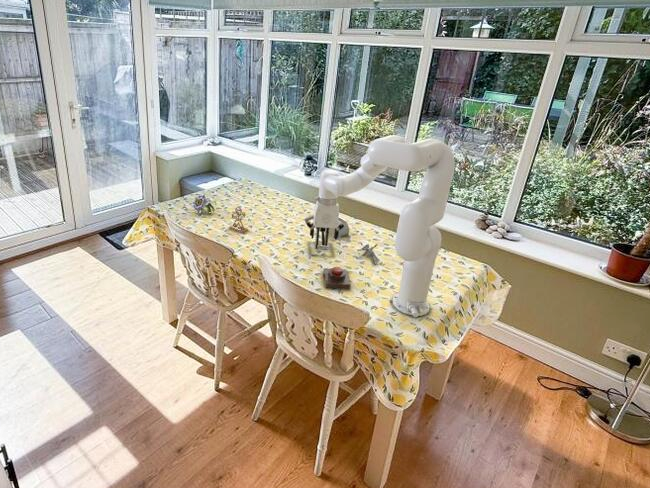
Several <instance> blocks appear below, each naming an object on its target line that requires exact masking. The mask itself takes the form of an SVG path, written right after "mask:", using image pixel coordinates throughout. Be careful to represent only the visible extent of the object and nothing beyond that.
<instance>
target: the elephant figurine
mask: <svg viewBox="0 0 650 488" xmlns="http://www.w3.org/2000/svg"><path fill="white" fill-rule="evenodd" d="M378 245H379V244H378V243H376V244H375V245H374V246H372V247H370V244H369V243H367V244H366V245H363V247H361V249H360V250H361V251H362V252H363V253H362V254H361V256H365V255H366V256H367V258H369V259H370V260H371V262H373V264H374V265H377V264H378V263H377V262H380V261H381V259H379V258H378V256H377V255H376V254H375V252H374V249H375V248H376V247H377V246H378Z"/></svg>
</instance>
